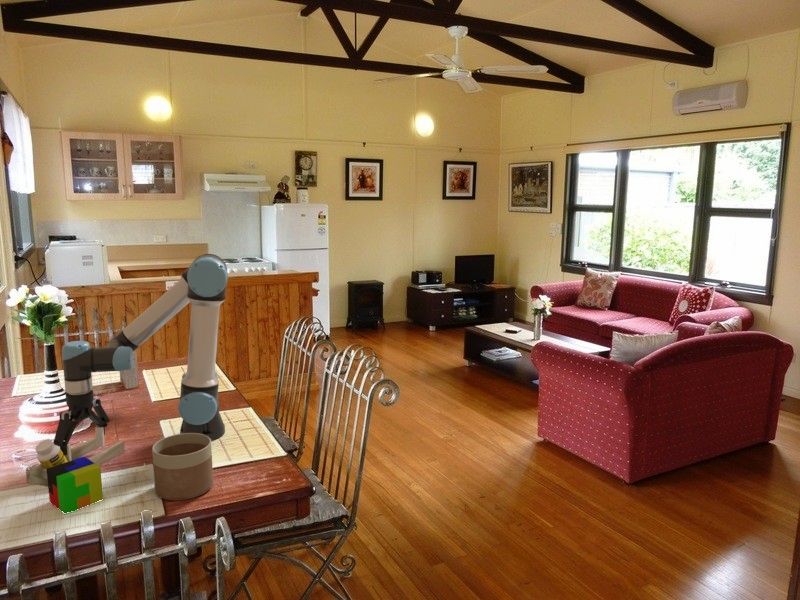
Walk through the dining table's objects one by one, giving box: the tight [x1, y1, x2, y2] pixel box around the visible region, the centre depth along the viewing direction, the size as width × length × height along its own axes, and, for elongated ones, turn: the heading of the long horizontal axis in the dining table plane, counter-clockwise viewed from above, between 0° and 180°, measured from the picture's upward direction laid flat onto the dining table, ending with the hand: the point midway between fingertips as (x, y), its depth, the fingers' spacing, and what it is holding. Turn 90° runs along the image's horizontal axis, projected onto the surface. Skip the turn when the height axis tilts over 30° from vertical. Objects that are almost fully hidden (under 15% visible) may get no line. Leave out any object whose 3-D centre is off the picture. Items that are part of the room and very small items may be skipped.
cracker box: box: [119, 349, 140, 391], centre depth 260 cm, size 14×6×21 cm, turn 33°
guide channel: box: [25, 436, 125, 488], centre depth 184 cm, size 12×26×5 cm, turn 164°
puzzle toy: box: [46, 456, 104, 513], centre depth 163 cm, size 10×10×10 cm
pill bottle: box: [35, 439, 68, 468], centre depth 176 cm, size 6×6×11 cm
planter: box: [151, 433, 214, 501], centre depth 170 cm, size 16×16×14 cm
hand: (84, 454), depth 188 cm, fingers open, 13 cm apart
